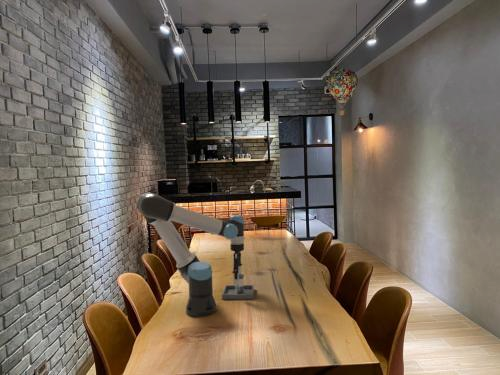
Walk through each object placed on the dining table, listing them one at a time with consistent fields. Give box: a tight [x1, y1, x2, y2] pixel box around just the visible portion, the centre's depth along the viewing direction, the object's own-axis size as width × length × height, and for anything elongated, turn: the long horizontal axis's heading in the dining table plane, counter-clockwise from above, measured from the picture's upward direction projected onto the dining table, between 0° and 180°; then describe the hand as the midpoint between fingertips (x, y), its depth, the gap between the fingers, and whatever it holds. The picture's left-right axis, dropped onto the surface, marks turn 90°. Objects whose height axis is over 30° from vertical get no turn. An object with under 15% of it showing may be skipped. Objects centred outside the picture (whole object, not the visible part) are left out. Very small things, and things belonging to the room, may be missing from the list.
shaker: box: [235, 273, 245, 294], centre depth 206 cm, size 5×5×10 cm
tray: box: [221, 284, 255, 300], centre depth 207 cm, size 17×16×3 cm
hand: (237, 281), depth 206 cm, fingers open, 13 cm apart
